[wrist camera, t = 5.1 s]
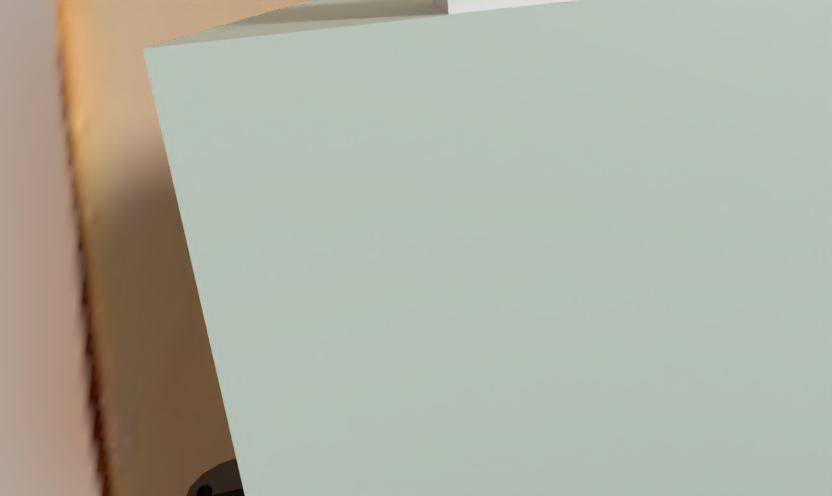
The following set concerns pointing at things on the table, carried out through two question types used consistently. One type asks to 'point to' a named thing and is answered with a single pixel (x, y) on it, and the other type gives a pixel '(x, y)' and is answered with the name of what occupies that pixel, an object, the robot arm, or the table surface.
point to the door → (513, 243)
